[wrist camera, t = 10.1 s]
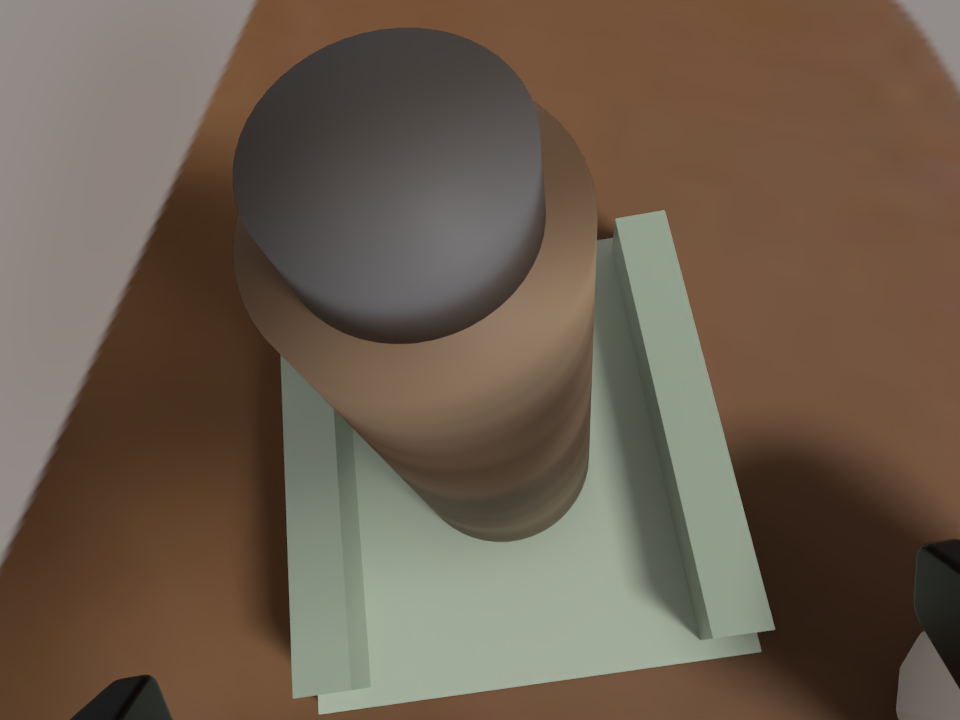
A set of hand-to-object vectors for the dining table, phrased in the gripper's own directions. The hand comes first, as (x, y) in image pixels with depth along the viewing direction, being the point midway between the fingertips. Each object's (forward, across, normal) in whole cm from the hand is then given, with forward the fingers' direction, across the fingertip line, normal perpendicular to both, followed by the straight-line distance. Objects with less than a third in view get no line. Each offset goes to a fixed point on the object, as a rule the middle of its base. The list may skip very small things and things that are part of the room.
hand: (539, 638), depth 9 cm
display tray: (+14, 0, +5) cm, 15 cm away
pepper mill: (+13, 0, +4) cm, 14 cm away
